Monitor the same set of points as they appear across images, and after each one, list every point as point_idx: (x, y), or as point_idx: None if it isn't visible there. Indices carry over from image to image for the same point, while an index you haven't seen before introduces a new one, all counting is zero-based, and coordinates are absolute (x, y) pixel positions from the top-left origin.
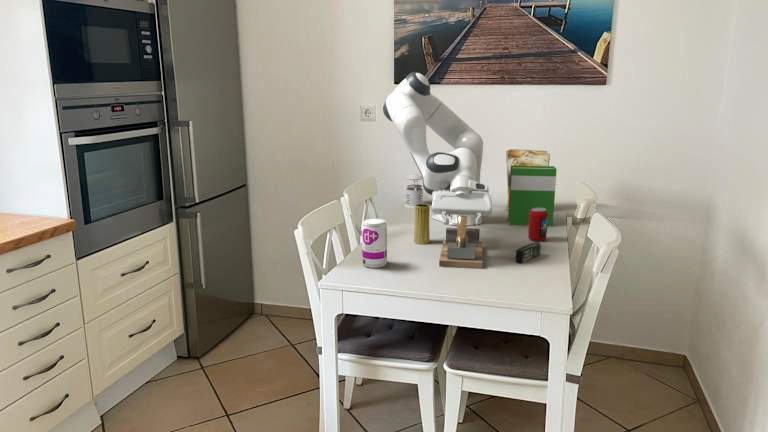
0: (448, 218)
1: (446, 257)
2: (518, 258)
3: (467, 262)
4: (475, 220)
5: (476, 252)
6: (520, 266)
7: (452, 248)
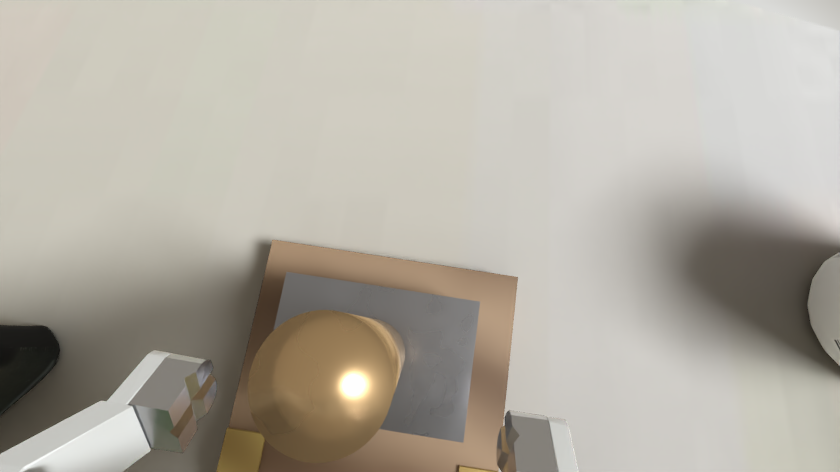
0: (522, 470)
1: None
2: (29, 331)
3: (356, 253)
4: (148, 387)
5: None
6: (65, 279)
7: (444, 296)
